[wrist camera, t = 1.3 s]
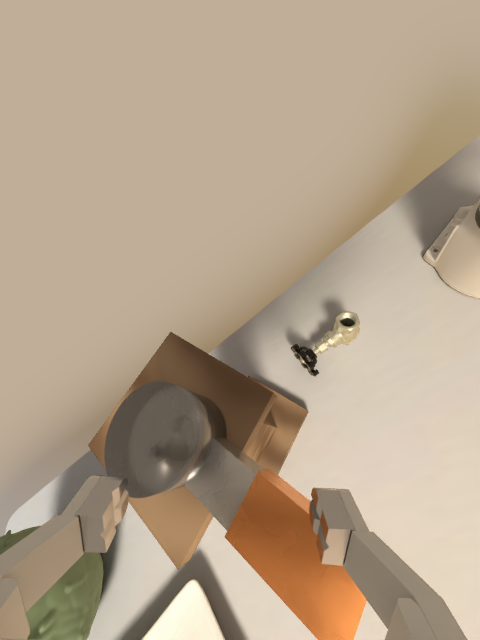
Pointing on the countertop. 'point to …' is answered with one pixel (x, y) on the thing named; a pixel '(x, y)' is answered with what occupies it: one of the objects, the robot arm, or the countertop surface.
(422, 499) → the countertop surface
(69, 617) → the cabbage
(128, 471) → the valve lever
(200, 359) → the stand
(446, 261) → the robot arm
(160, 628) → the salad plate
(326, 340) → the valve
